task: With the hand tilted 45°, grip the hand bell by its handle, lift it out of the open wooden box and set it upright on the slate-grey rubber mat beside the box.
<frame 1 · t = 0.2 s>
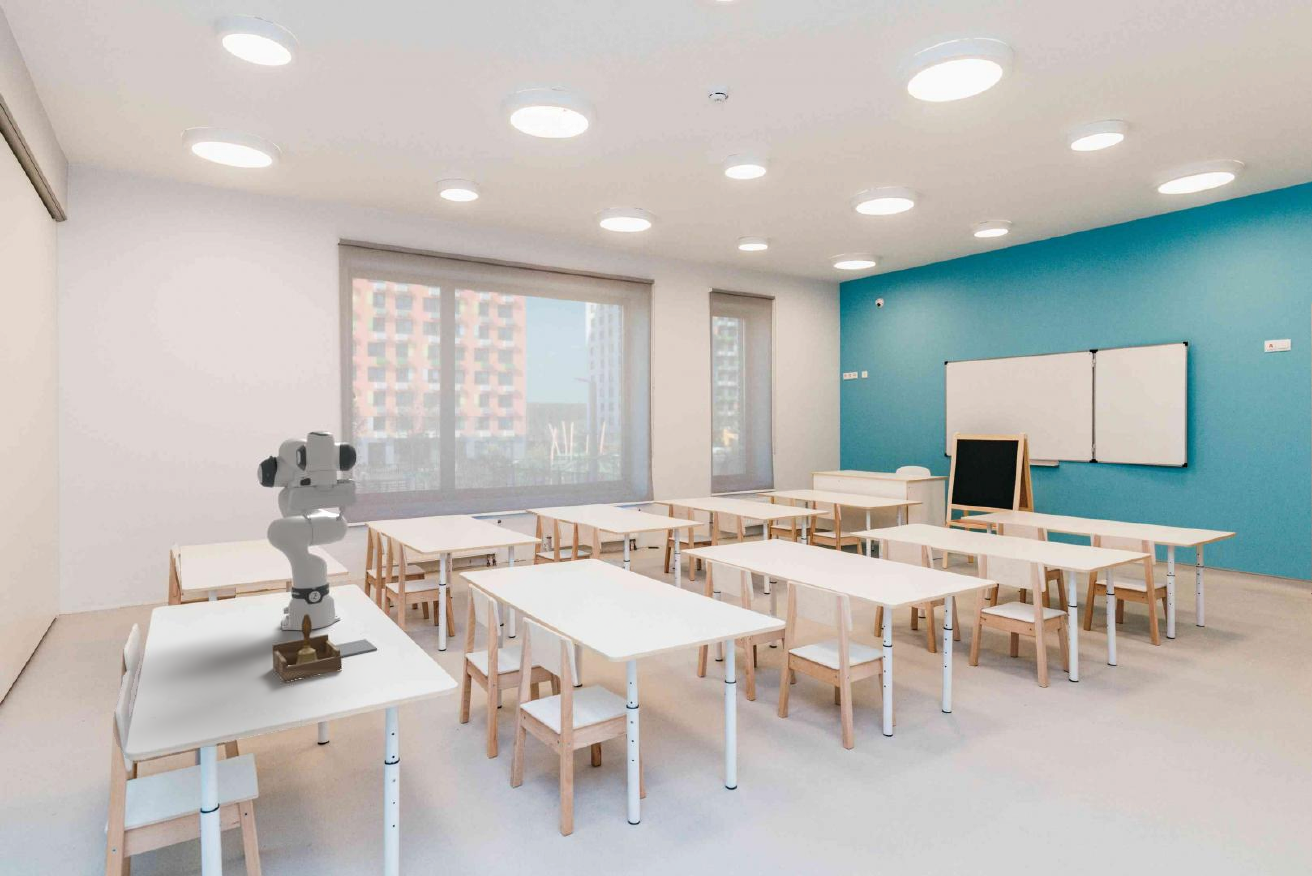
hand: (324, 522, 232), 39 cm above the table, tool pointing down, fingers open, 8 cm apart
open wooden box: (307, 669, 207), on the table
slate mat: (351, 649, 224), on the table
hand bell: (307, 670, 207), resting in open wooden box
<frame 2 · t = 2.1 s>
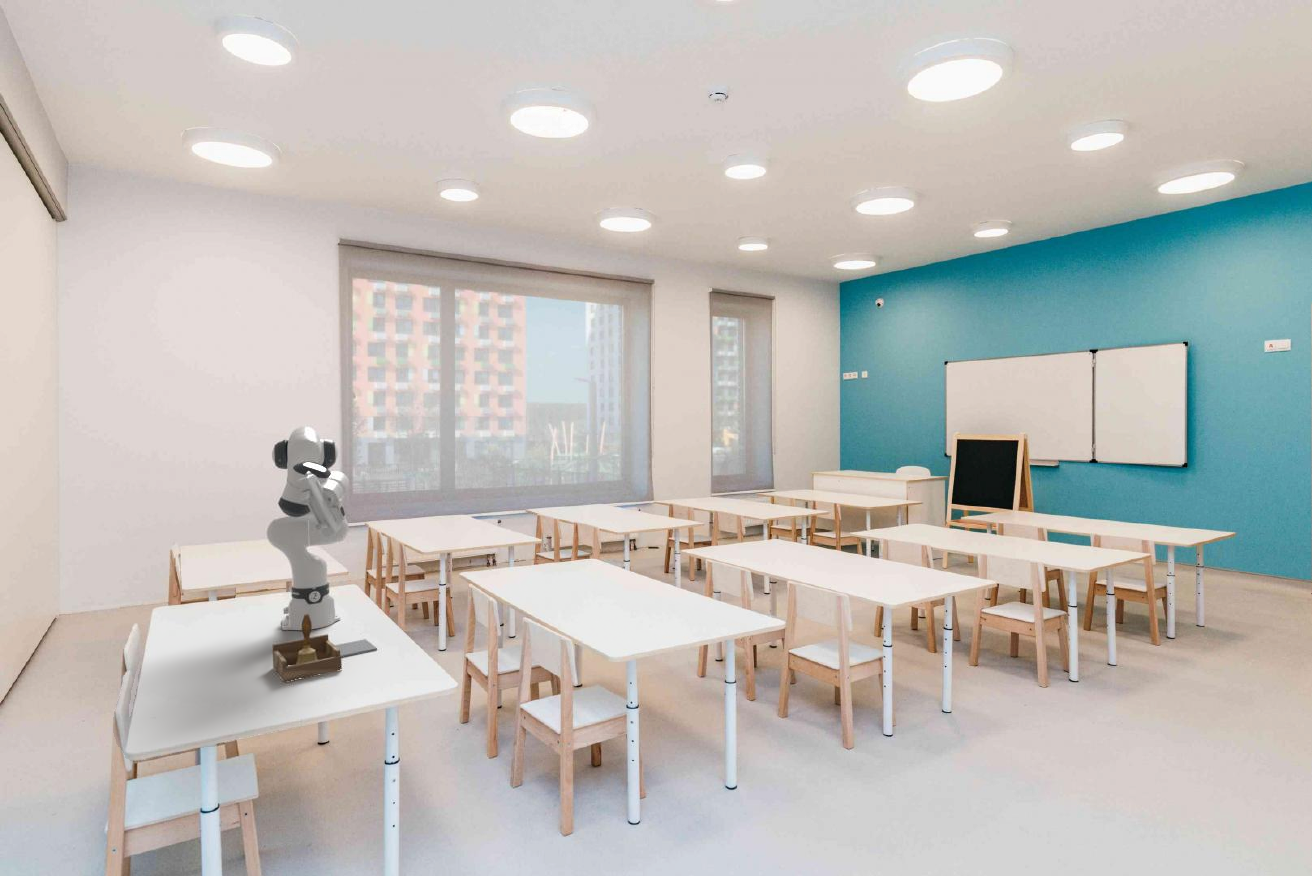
hand: (311, 515, 214), 44 cm above the table, tool horizontal, fingers open, 8 cm apart
nothing on the table moved.
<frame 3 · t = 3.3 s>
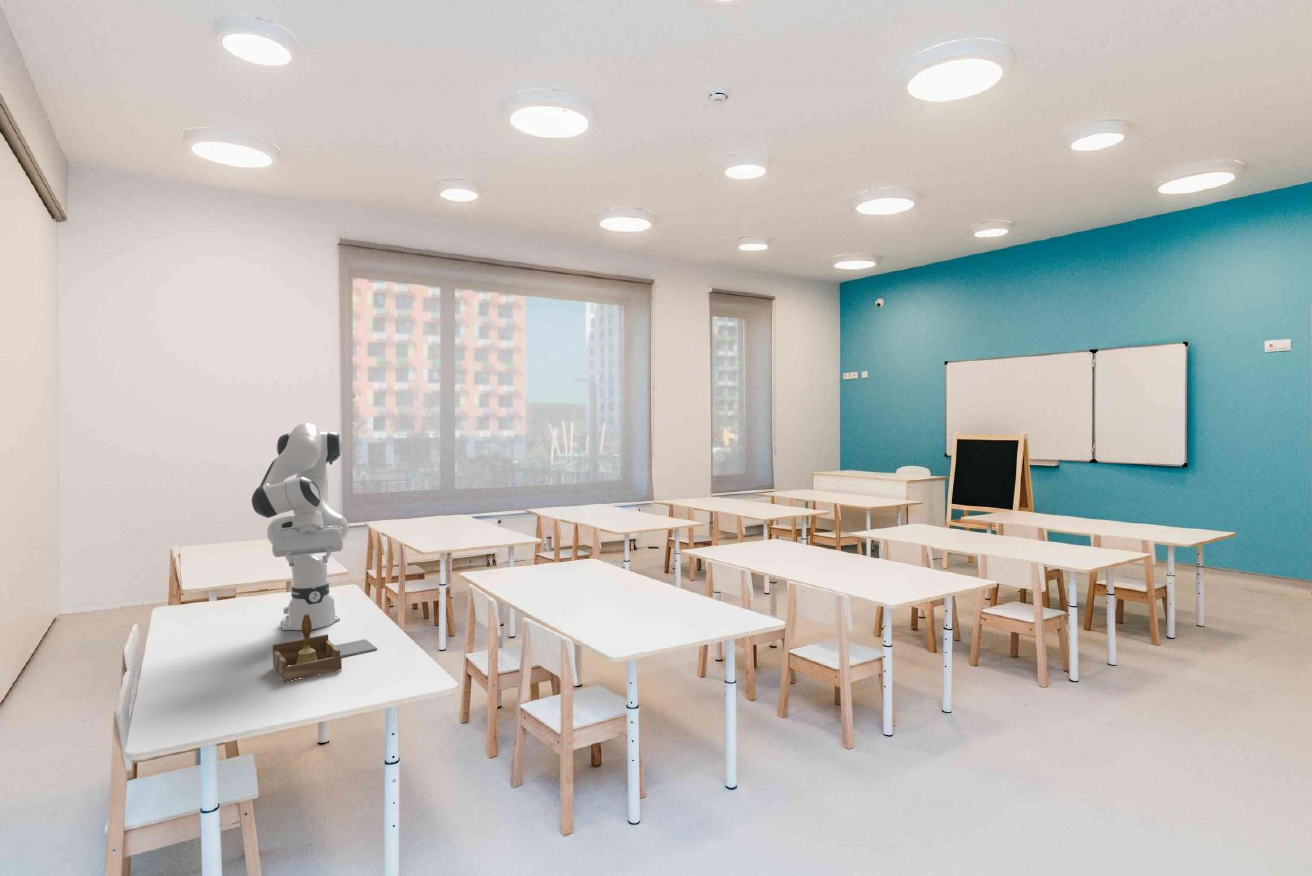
hand: (308, 563, 222), 28 cm above the table, tool tilted 45°, fingers open, 8 cm apart
nothing on the table moved.
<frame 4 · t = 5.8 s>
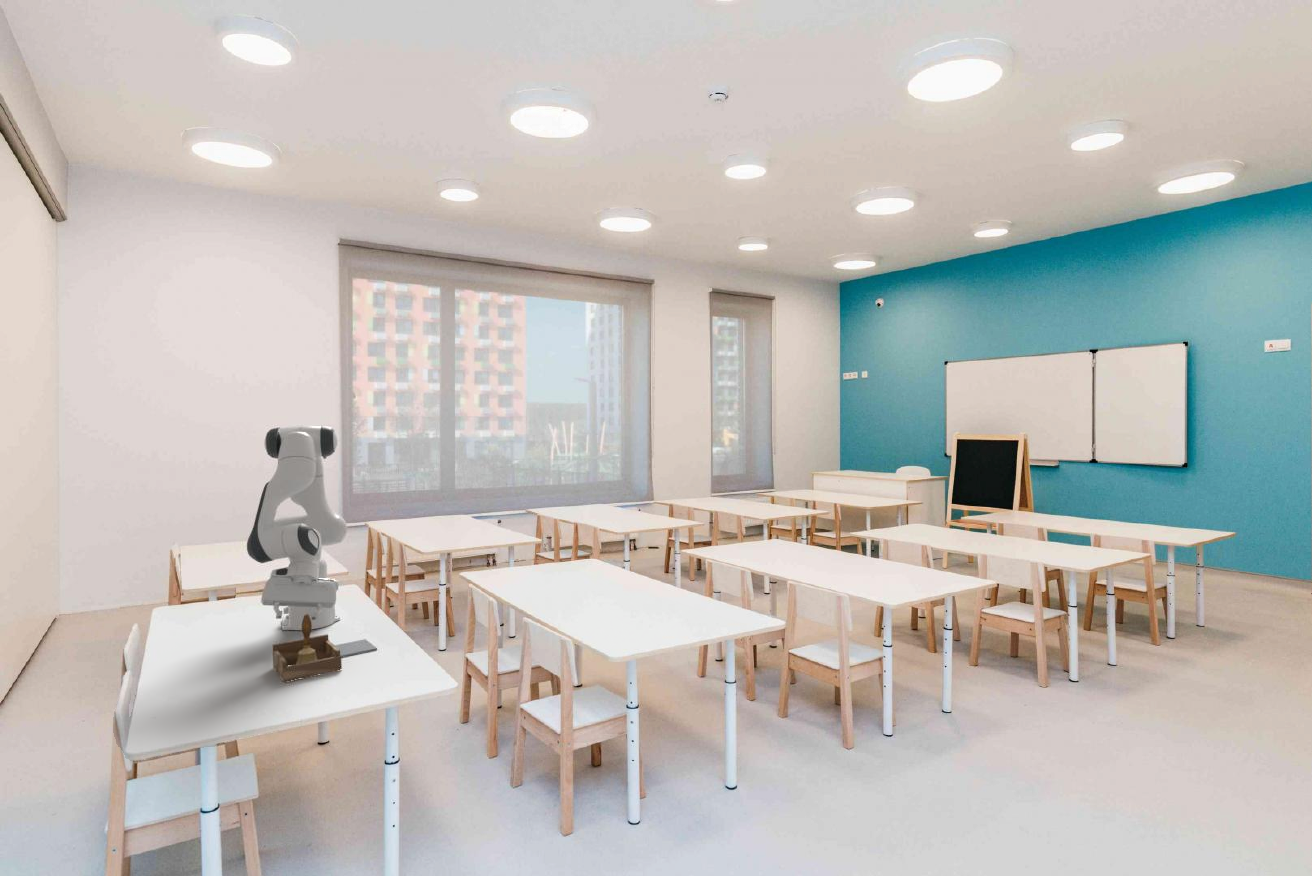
hand: (296, 618, 210), 14 cm above the table, tool tilted 45°, fingers open, 8 cm apart
nothing on the table moved.
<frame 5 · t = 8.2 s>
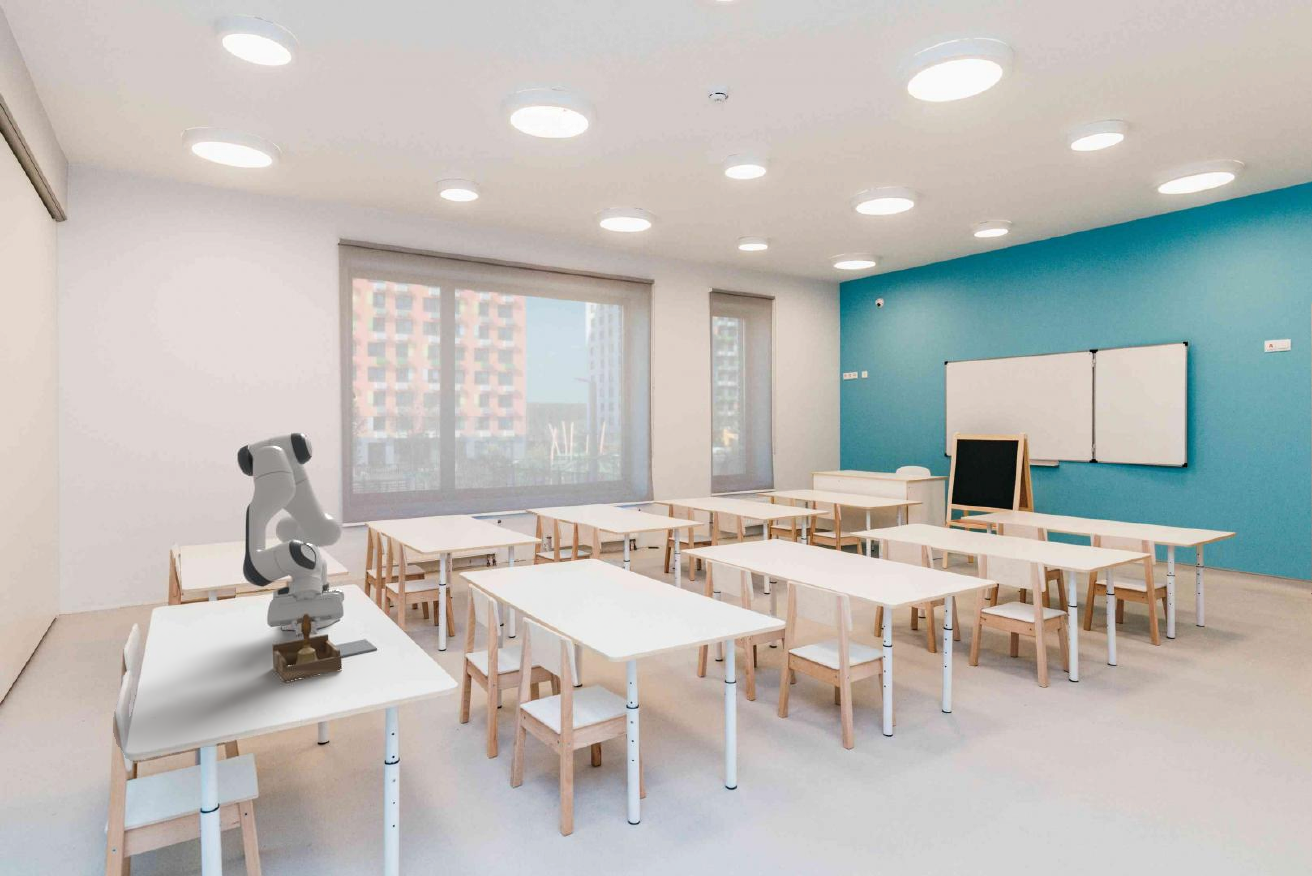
hand: (306, 634, 206), 10 cm above the table, tool tilted 45°, fingers closed on hand bell, 2 cm apart
hand bell: (307, 669, 207), resting in open wooden box, touching gripper
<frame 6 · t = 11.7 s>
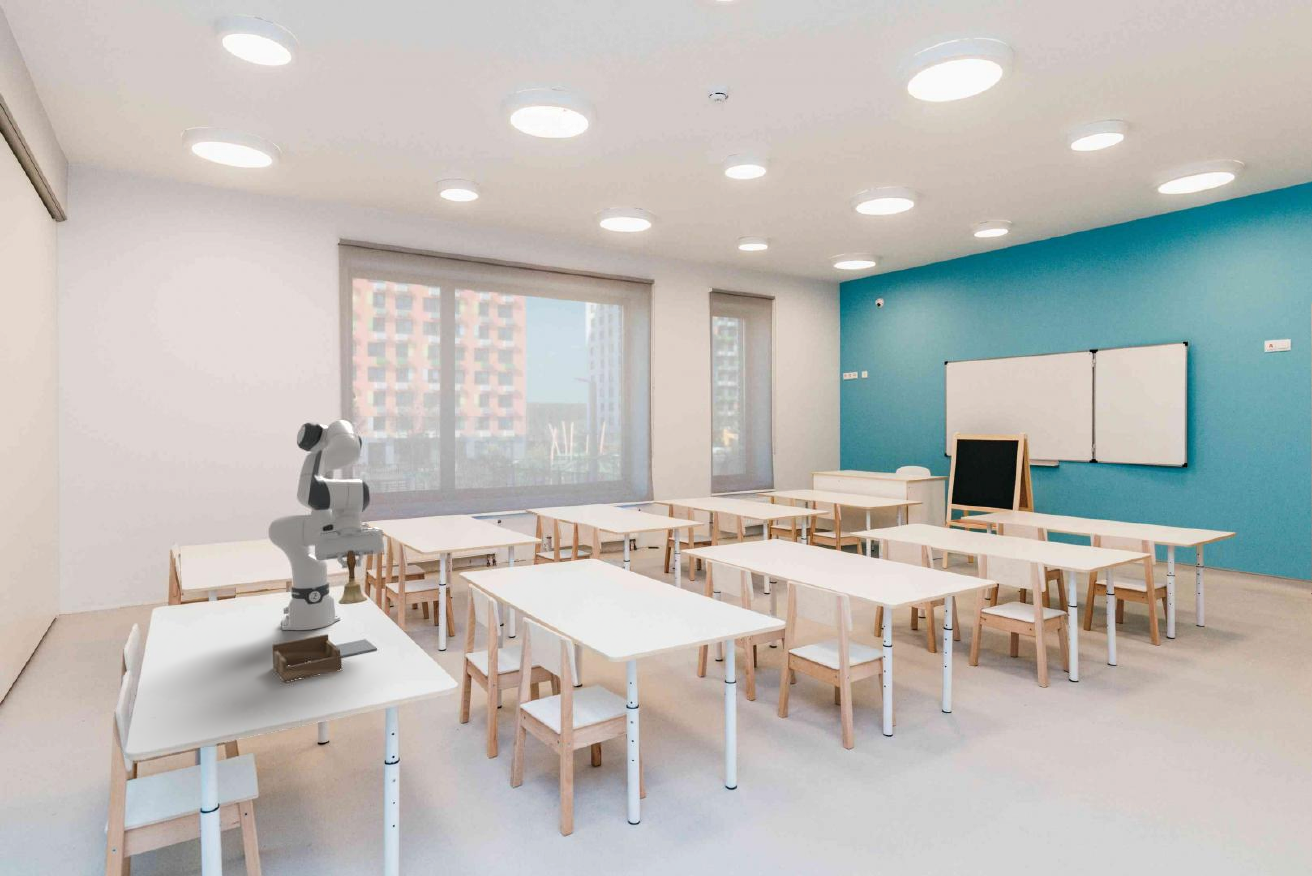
hand: (351, 566, 222), 26 cm above the table, tool tilted 45°, fingers closed on hand bell, 2 cm apart
hand bell: (353, 602, 223), point 15 cm above the table, touching gripper
when the fingers open (13 cm above the table, at t = 15.1 s): hand bell drops 1 cm, resting on slate mat.
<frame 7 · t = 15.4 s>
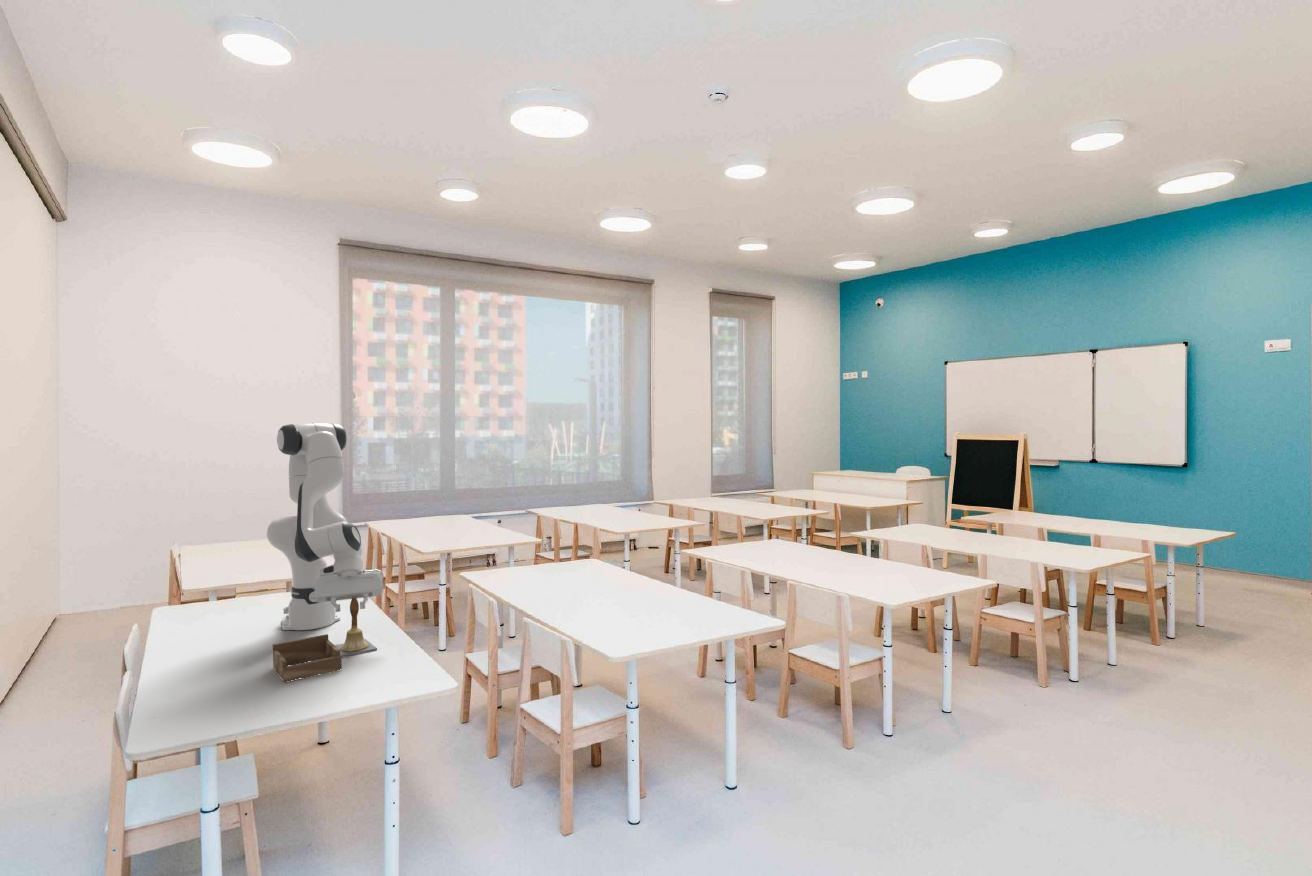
hand: (350, 609, 223), 13 cm above the table, tool tilted 45°, fingers open, 6 cm apart
hand bell: (354, 648, 224), resting on slate mat
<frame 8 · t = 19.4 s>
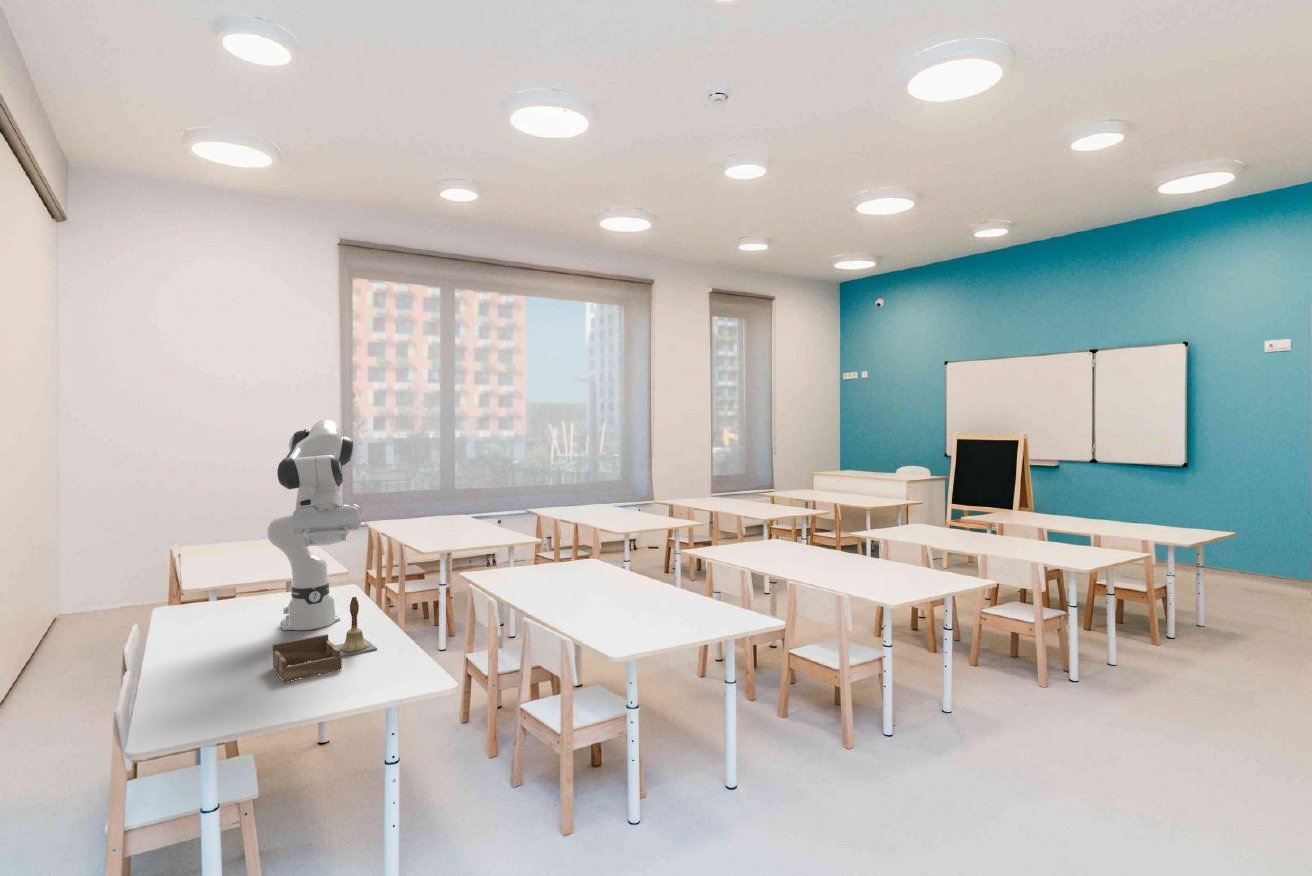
hand: (326, 541, 223), 34 cm above the table, tool tilted 45°, fingers open, 8 cm apart
nothing on the table moved.
at the end: hand bell inside the target area on the slate mat (1.1 cm from its centre), point 0.4 cm above the slate mat's base; hand bell tilted 0°; the gripper is holding nothing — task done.
